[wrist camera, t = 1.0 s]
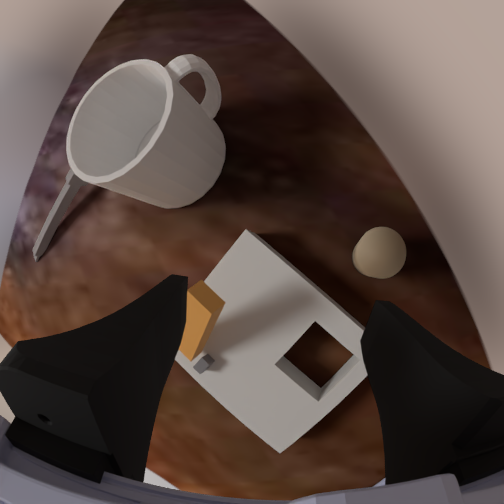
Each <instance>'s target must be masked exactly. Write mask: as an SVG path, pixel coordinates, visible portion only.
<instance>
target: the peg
mask: <svg viewBox="0 0 504 504" xmlns="http://www.w3.org/2000/svg"><path fill="white" fill-rule="evenodd" d="M405 260H406V246H405V243H404V241H403V239H402V237H401V236H400V235H399V234H398V233H397V232H396V231H394V230H392V229H390V228H387V227H376V228H373V229H371V230H369V231H368V232H366V233H365V234H364V235H363V237H362V238H361V239H360V241H359V242H358V243H357V245H356V246H355V248H354V250H353V253H352V262H353V265H354V267H355V269H356V270H357V271H358V272H359V273H361V274H362V275H365V276H370V277H375V278H381V279H382V278H389V277H391V276H394V275H395V274H396V273H398V272H399V271H400V270H401V268H402V267H403V265H404V263H405Z"/></svg>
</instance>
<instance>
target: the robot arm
mask: <svg viewBox="0 0 504 504" xmlns="http://www.w3.org/2000/svg"><path fill="white" fill-rule="evenodd" d="M187 285H188V277H186V276H180V275H173V274H172V275H170V276H169V277H167V278H166V279H165V280H163V281H162V282H160V283H159V284H158V285H156V286H155V287H154V288H152V289H151V290H150V291H148V292H147V293H145V294H144V295H142V296H141V297H140V298H138V299H136V300H135V301H133V302H132V303H130V304H128V305H127V306H125V307H124V308H122V309H120V310H118V311H116V312H115V313H113V314H111V315H109V316H106V317H104V318H102V319H100V320H98V321H95V322H93V323H90V324H88V325H85V326H82V327H80V328H77V329H74V330H71V331H67V332H64V333H60V334H56V335H52V336H48V337H43V338H37V339H30V340H24V341H18V342H17V343H16V344H15V346H14V347H13V348H12V349H11V351H10V352H9V353H8V354H7V356H6V357H5V358H4V360H3V361H2V362H1V363H0V392H1V393H2V395H3V397H4V399H5V400H6V402H7V404H8V405H9V407H10V409H11V410H12V412H13V413H14V415H15V418H14V420H13V422H12V423H11V424H10V423H9V422H8V421H7V420H6V419H5V418H3V417H2V416H1V415H0V504H504V375H502V374H500V373H497V372H495V371H492V370H490V369H488V368H486V367H484V366H482V365H480V364H478V363H476V362H474V361H472V360H470V359H468V358H466V357H465V356H463V355H461V354H460V353H458V352H457V351H455V350H453V349H452V348H450V347H449V346H447V345H446V344H445V343H443V342H442V341H441V340H439V339H438V338H436V337H435V336H434V335H432V334H431V333H430V332H429V331H427V330H426V329H425V328H424V327H422V326H421V325H420V324H419V323H417V322H416V321H415V320H414V319H412V318H411V317H410V316H409V315H408V314H406V313H405V312H404V311H402V310H401V309H400V308H398V307H397V306H396V305H394V304H393V303H391V302H389V301H379V300H376V302H375V304H374V307H373V309H372V312H371V315H370V317H369V320H368V322H367V325H366V327H365V330H364V332H363V335H362V337H361V340H360V344H361V350H362V356H363V362H364V365H365V368H366V372H367V375H368V378H369V381H370V384H371V387H372V390H373V394H374V397H375V400H376V403H377V407H378V411H379V415H380V421H381V427H382V434H383V443H384V453H385V478H384V479H383V480H381V481H380V482H379V483H377V484H376V485H375V486H373V487H369V488H360V489H350V490H340V491H334V492H327V493H319V494H314V495H311V496H307V497H303V498H299V499H296V500H293V501H277V500H253V499H239V498H229V497H220V496H212V495H204V494H198V493H191V492H185V491H180V490H175V489H169V488H165V487H160V486H156V485H151V484H147V483H143V481H144V474H145V468H146V462H147V456H148V451H149V446H150V440H151V436H152V431H153V426H154V422H155V417H156V413H157V409H158V405H159V401H160V397H161V394H162V391H163V388H164V385H165V383H166V380H167V378H168V375H169V373H170V370H171V367H172V365H173V362H174V360H175V357H176V355H177V352H178V350H179V347H180V344H181V341H182V337H183V333H184V329H185V325H186V315H187Z"/></svg>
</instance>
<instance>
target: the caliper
mask: <svg viewBox="0 0 504 504" xmlns="http://www.w3.org/2000/svg"><path fill="white" fill-rule="evenodd" d="M66 181H67V182H66V184H65V185H64V187H63V189H62V191H61V193H60V194H59V196H58V198H57V200H56V202H55V204H54V206H53V208H52V210H51V212H50V214H49V216H48V218H47V220H46V222H45V224H44V226H43V228H42V230H41V232H40V234H39V237H38V239H37V241H36V243H35V245H34V248H33V253H34V255H33V256H34V258H35V261H36V262H37V261H38V260H39V257H40V256H42V254H43V253H44V251H45V250H46V249H47V247H48V245H49V243H50V241H51V239H52V237H53V235H54V233H55V231H56V229H57V227H58V225H59V223H60V221H61V219H62V217H63V216H64V214H65V212H66V210H67V208H68V207H69V205H70V203H71V201H72V200H73V198H74V196H75V195H76V193H77V191H78V190H79V188H80V186H86V185H87V184H88V182H85V181H83V180H82V179H80V178H79V177H78V176H77V175H75V174H74V172H73V170H72V168H71V169H70V171H69V173H68V174H67V176H66Z"/></svg>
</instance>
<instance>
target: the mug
mask: <svg viewBox="0 0 504 504" xmlns="http://www.w3.org/2000/svg"><path fill="white" fill-rule="evenodd" d="M194 71H197V72H199V73H200V74H201V75H202V77H203V79H204V82H205V86H206V95H205V97H204V99H203V102H202V103H201V104H200V105H199V104H198V103H197V101H196V100H195V99H194V98H193V97H192V96H191V95H190V94H189V93H188V92H187V91H186V90H185V89H184V88H183V86H182V85H181V84H180V83H179V81H180V80H181V78H182V77H184V76H185V75H187V74H189V73H190V72H194ZM220 103H221V90H220V84H219V82H218V80H217V77H216V75H215V73H214V72H213V70H212V69H211V68H210V66H209V65H208V64H207V63H206V62H205V61H204V60H203V59H201V58H199V57H197V56H195V55H192V54H188V55H182V56H178V57H177V58H175V59H173V60H172V61H170V62H169V63H168V64H167V65H166V67H165V68H164V67H163V66H161V65H160V64H159V63H157V62H155V61H151V60H147V59H142V60H132V61H129V62H126V63H124V64H121V65H119V66H117V67H115V68H114V69H112V70H110V71H108V72H107V73H106V74H104V75H103V76H102V77H101V78H100V79H99V80H97V81H96V82H95V83H94V84H93V86H92V87H91V88H90V89H89V90H88V91H87V93H86V94H85V95H84V97H83V98H82V100H81V102H80V103H79V105H78V106H77V108H76V110H75V113H74V115H73V117H72V120H71V122H70V126H69V130H68V135H67V148H66V152H67V157H68V162H69V165H70V167H71V168H72V170H73V172H74V174H75V175H77V176H78V177H79V178H80V179H82V180H83V181H85V182H88V183H91V184H94V185H97V186H100V187H103V188H106V189H109V190H112V191H115V192H118V193H121V194H124V195H127V196H129V197H132V198H135V199H138V200H141V201H144V202H147V203H150V204H153V205H156V206H160V207H163V208H180V207H183V206H186V205H189V204H192V203H193V202H195V201H196V200H198V199H199V198H201V197H203V196H204V195H205V194H206V192H207V191H208V190H209V189H210V188H211V187H212V186H213V185H214V183H215V182H216V180H217V178H218V177H219V175H220V173H221V170H222V167H223V164H224V161H225V151H226V145H225V141H224V136H223V133H222V132H221V130H220V128H219V126H218V125H217V123H216V122H215V121H214V120H213V118H214V117H215V116H216V114H217V112H218V110H219V108H220Z"/></svg>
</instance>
